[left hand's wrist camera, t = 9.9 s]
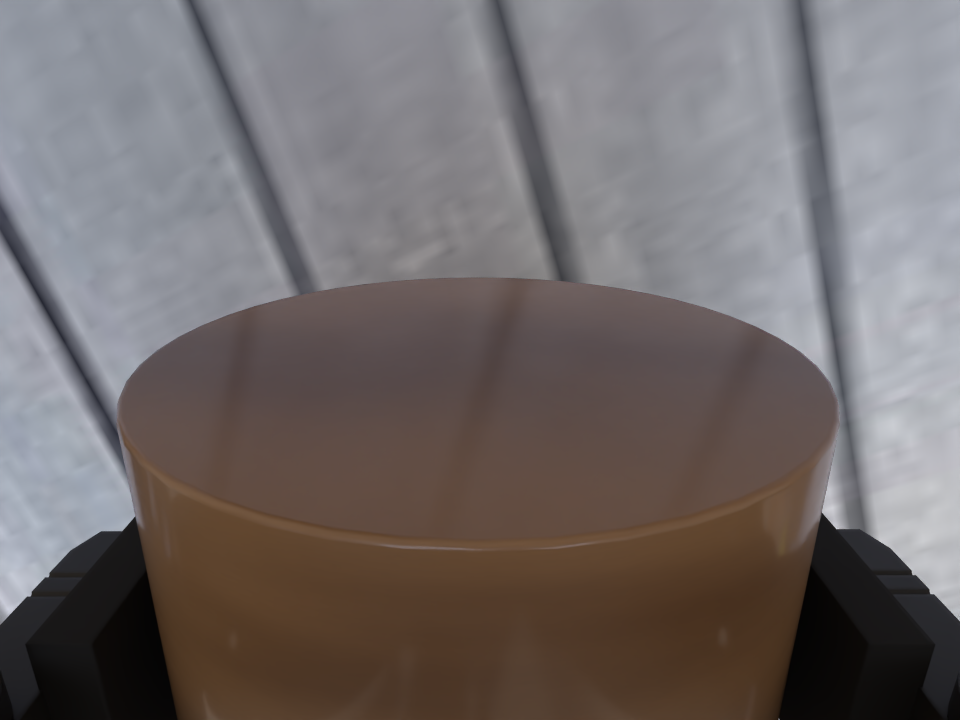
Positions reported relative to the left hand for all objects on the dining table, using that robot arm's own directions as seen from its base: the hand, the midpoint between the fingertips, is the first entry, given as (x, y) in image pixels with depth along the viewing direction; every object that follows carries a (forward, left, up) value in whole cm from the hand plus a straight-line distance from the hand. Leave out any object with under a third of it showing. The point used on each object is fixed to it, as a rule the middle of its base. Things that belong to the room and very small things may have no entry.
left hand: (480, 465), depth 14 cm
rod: (+8, +2, -1) cm, 8 cm away
